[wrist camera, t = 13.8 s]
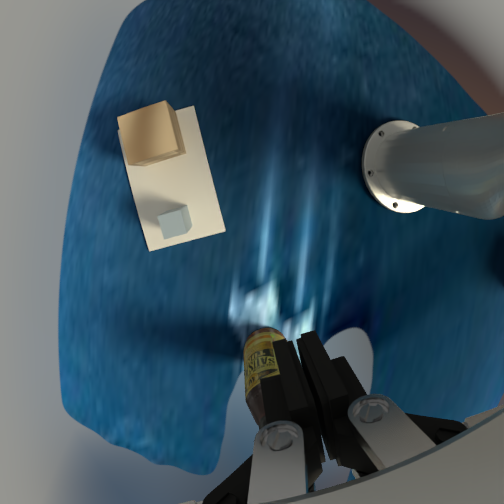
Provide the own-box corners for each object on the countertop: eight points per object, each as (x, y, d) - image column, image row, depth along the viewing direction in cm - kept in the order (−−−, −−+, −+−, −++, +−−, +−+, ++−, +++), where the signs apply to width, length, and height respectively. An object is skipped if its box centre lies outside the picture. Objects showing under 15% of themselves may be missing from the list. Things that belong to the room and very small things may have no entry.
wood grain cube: (176, 112, 35) (165, 100, 29) (186, 153, 37) (177, 149, 30) (134, 126, 35) (117, 117, 29) (144, 166, 37) (128, 165, 30)
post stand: (194, 106, 36) (188, 95, 30) (225, 230, 39) (224, 239, 34) (118, 130, 36) (101, 124, 30) (150, 250, 39) (137, 262, 34)
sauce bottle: (262, 317, 43) (285, 417, 23) (296, 340, 44) (335, 441, 25) (232, 350, 43) (235, 457, 24) (266, 371, 45) (286, 477, 25)
